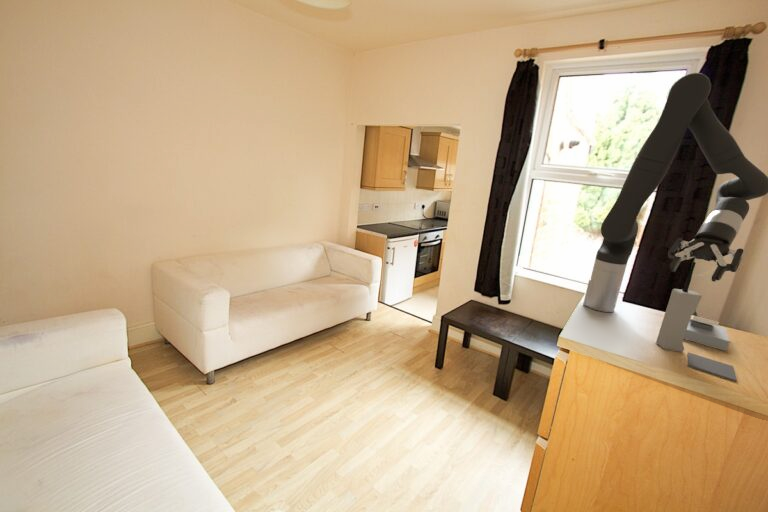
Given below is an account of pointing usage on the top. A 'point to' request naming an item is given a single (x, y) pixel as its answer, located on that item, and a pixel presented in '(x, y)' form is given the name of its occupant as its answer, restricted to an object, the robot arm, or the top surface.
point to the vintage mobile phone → (678, 316)
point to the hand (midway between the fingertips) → (692, 274)
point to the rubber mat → (711, 366)
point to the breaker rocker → (704, 320)
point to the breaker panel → (707, 334)
